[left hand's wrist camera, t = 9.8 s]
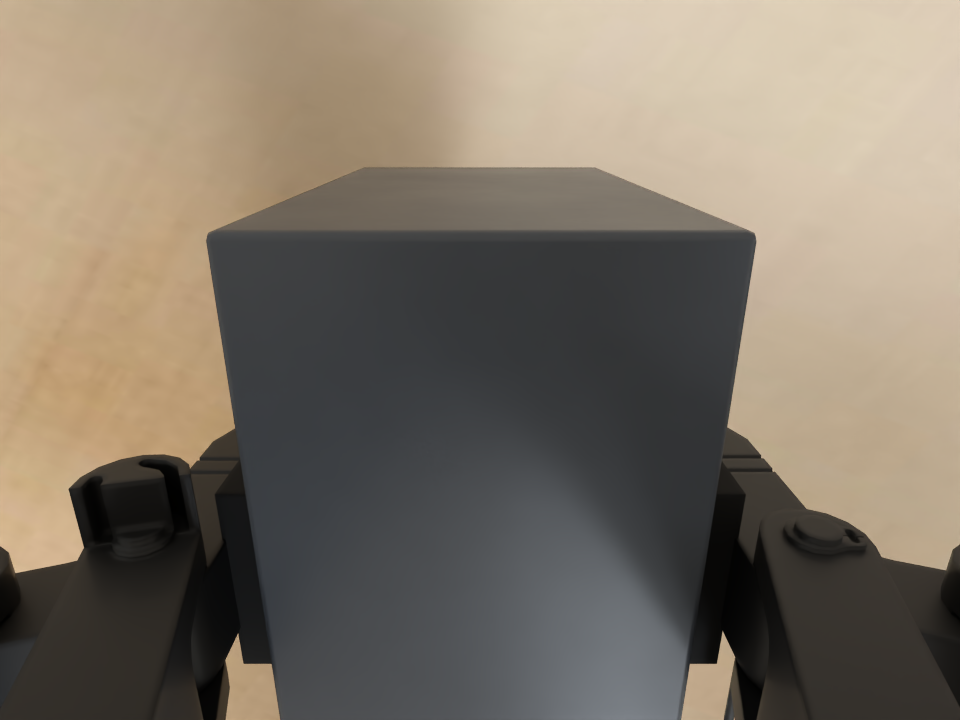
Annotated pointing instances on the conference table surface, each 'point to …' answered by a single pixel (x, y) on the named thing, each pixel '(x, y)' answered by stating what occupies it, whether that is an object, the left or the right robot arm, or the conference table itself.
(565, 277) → the beam
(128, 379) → the conference table surface
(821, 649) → the left robot arm
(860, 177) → the conference table surface
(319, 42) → the conference table surface
